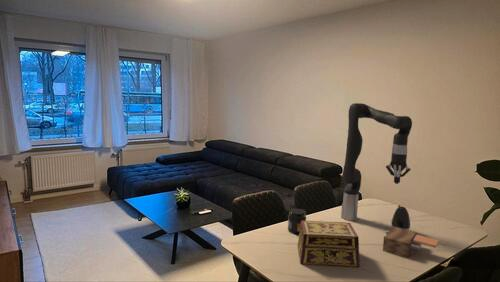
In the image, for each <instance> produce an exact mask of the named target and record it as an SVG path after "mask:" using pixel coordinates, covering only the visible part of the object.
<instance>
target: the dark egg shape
mask: <svg viewBox="0 0 500 282" xmlns="http://www.w3.org/2000/svg"><path fill="white" fill-rule="evenodd" d="M390 223H391V228H392V227H393V226H394V227H398V228H402V229H406V230H410V228H411V219H410V213H409V211H408V209H407V208H406V207H405V206H401V205H398V206H397V208H396V210H395V211H394V213H393V216H392V219H391V222H390Z"/></svg>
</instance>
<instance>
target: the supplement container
mask: <svg viewBox="0 0 500 282" xmlns="http://www.w3.org/2000/svg"><path fill="white" fill-rule="evenodd" d="M288 211H289V212H288V213H289V214H288V217H287V218H288V221H287V230H288V232H290V233H292V234H297V235H299V233H300V225H301V221H307V216H306V210H304V209H301V208H291V209H289V210H288Z"/></svg>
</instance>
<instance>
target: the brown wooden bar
mask: <svg viewBox="0 0 500 282" xmlns="http://www.w3.org/2000/svg"><path fill="white" fill-rule="evenodd" d="M387 233H388V231H386V232H385V233H384V235H383V237H384V236H385V235H386V234H387ZM411 248H413V250H417V251H421V249H422V244H420V243H416V242H413V241H412V245H411Z"/></svg>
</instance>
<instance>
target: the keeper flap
mask: <svg viewBox="0 0 500 282" xmlns="http://www.w3.org/2000/svg"><path fill="white" fill-rule="evenodd" d="M413 242H416V243H420V244H421V245H425V246H428V247H432V248H434V249H436V248H437V246H438V243H439V239H436V238H432V237H427V236H423V235H419V234H416V236H415V238H414V240H413Z"/></svg>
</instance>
